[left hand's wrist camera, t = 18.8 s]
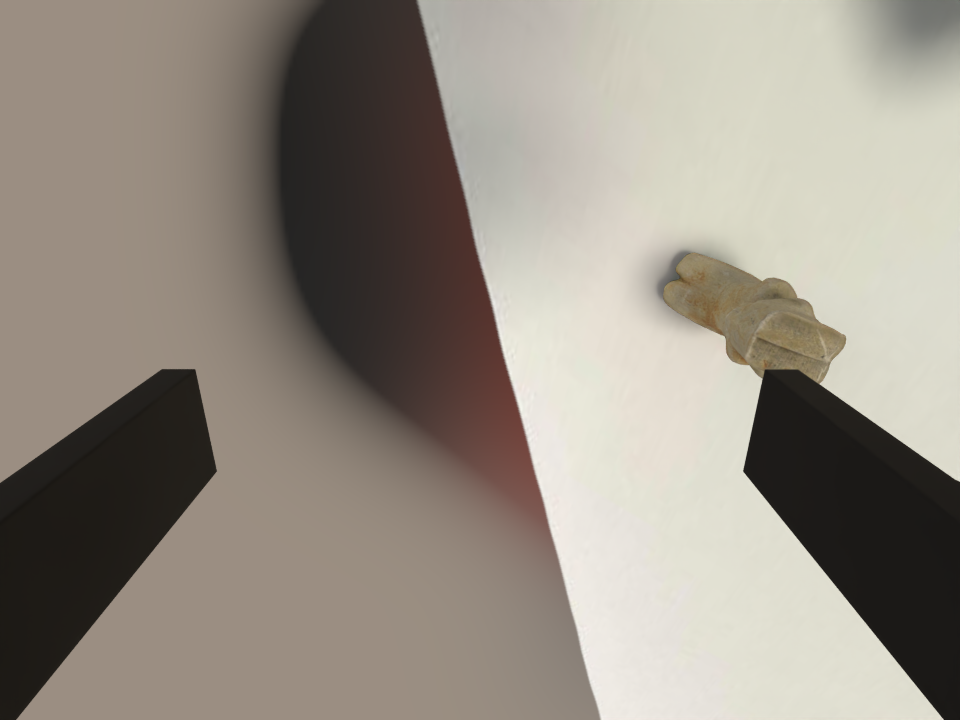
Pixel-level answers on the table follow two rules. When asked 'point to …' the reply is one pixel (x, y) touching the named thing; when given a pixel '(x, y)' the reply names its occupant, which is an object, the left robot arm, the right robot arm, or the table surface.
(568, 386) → the table surface
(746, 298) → the sculpture
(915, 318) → the table surface
